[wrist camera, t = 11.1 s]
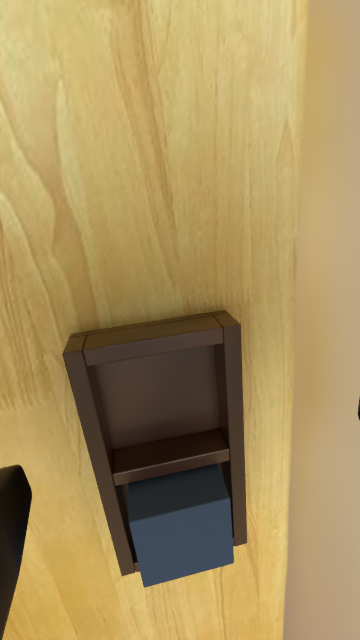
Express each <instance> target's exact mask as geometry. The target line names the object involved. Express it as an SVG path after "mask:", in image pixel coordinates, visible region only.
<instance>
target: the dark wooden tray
mask: <svg viewBox="0 0 360 640" xmlns="http://www.w3.org/2000/svg"><path fill="white" fill-rule="evenodd" d="M62 355H63V358H64V362H65V366H66V370H67V373H68V377H69V381H70V384H71V388H72V392H73V396H74V399H75V403H76V407H77V411H78V414H79V418H80V422H81V426H82V429H83V433H84V437H85V440H86V444H87V448H88V452H89V455H90V459H91V463H92V467H93V470H94V474H95V478H96V482H97V485H98V489H99V493H100V496H101V500H102V504H103V508H104V511H105V515H106V519H107V523H108V526H109V530H110V534H111V538H112V541H113V545H114V549H115V552H116V556H117V560H118V564H119V567H120V571H121V575H122V576H124V575H128V574H132V573H135V571H136V572H139V571H140V568H139V564H138V560H137V556H136V551H135V547H134V543H133V538H132V534H131V530H130V526H129V504H128V483H131V482H136V481H140V480H145V479H149V478H154V477H158V476H162V475H167V474H171V473H176V472H180V471H185V470H189V469H194V468H198V467H202V466H207V465H211V464H216V463H217V464H218V467H219V469H220V472H221V475H222V477H223V480H224V483H225V485H226V488H227V491H228V493H229V496H230V503H231V521H232V538H233V546H238V545H242V544H246V543H247V523H246V489H245V456H244V422H243V388H242V355H241V325H240V323H239V322H238V321H237V320H235V319H234V318H233V317H232V316H231V315H230V314H229V313H228V312H227V311H226V310H223V311H217V312H210V313H204V314H197V315H191V316H184V317H178V318H172V319H165V320H159V321H152V322H146V323H139V324H133V325H127V326H120V327H114V328H107V329H101V330H95V331H88V332H82V333H75V334H71V335H70V337H69V340H68V342H67V344H66V346H65V349H64V351H63V354H62Z"/></svg>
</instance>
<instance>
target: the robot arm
mask: <svg viewBox="0 0 360 640" xmlns="http://www.w3.org/2000/svg"><path fill="white" fill-rule="evenodd" d="M358 417H359V420H360V399H359V407H358ZM31 500H32V491H31V487H30V485H29V482H28V480H27V478H26V475H25V473H24V470H23V468H22V467H21V466H20V465H13V466H9V467H4V468H1V469H0V640H2V637H3V634H4V630H5V626H6V622H7V618H8V615H9V611H10V607H11V603H12V599H13V595H14V592H15V588H16V584H17V580H18V576H19V571H20V566H21V561H22V555H23V549H24V543H25V537H26V531H27V525H28V518H29V512H30V506H31Z"/></svg>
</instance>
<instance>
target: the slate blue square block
mask: <svg viewBox="0 0 360 640" xmlns="http://www.w3.org/2000/svg"><path fill="white" fill-rule="evenodd" d="M128 504H129V526H130V530H131V534H132V538H133V543H134V547H135V551H136V556H137V560H138V564H139V568H140V573H141V577H142V581H143V586H144V587H148V586H152V585H155V584H159V583H163V582H166V581H170V580H174V579H177V578H181V577H185V576H188V575H192V574H196V573H199V572H203V571H207V570H210V569H214V568H218V567H221V566H225V565H228V564H232V563H234V556H233V538H232V521H231V503H230V496H229V493H228V491H227V488H226V485H225V483H224V480H223V477H222V475H221V472H220V469H219V467H218V464H217V463H216V464H211V465H207V466H202V467H198V468H194V469H189V470H185V471H180V472H176V473H171V474H167V475H162V476H158V477H154V478H149V479H145V480H140V481H136V482H131V483H128Z"/></svg>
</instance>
